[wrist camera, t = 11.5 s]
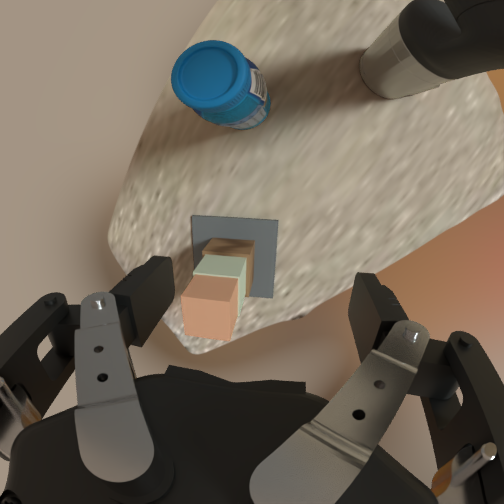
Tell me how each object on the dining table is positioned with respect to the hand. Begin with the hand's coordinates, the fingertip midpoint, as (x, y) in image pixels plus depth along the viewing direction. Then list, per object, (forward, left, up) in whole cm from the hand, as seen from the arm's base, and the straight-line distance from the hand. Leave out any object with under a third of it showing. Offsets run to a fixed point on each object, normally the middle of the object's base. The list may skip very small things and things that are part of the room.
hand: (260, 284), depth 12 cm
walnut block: (+7, +13, -32) cm, 35 cm away
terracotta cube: (+7, +13, -20) cm, 25 cm away
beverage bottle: (+6, -12, -32) cm, 35 cm away
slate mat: (+7, +13, -32) cm, 35 cm away
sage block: (+7, +13, -26) cm, 30 cm away
